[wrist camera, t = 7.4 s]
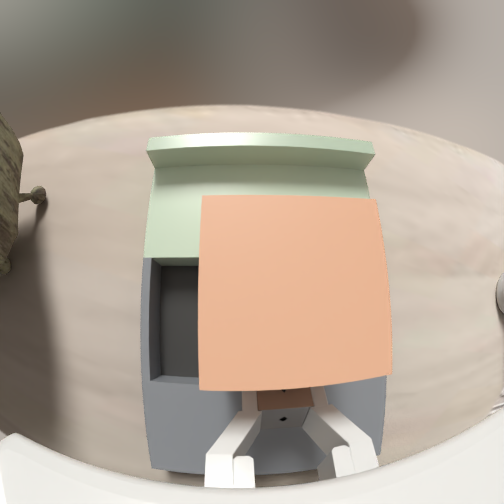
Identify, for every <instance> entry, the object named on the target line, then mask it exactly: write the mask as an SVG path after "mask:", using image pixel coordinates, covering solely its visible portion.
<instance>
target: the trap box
mask: <svg viewBox="0 0 504 504" xmlns="http://www.w3.org/2000/svg"><path fill="white" fill-rule="evenodd" d="M146 151H147V153H148V155H149V157H150V159H151V161H152V164H153V166H154V168H155V170H154V176H153V182H152V188H151V195H150V202H149V210H148V218H147V226H146V235H145V246H144V257H143V271H142V289H141V373H142V390H143V403H144V414H145V424H146V432H147V440H148V447H149V454H150V460H151V466H152V468H154V469H160V470H166V471H174V472H182V473H193V474H205V463H206V453H207V452H208V451H209V450H210V448H211V447H212V446H213V445H214V443H215V442H216V441H217V439H218V438H219V437H220V435H221V434H222V433H223V432H224V430H225V429H226V428H227V426H228V425H229V423H230V422H231V421H232V419H233V418H234V417H235V415H236V414H237V413H238V411H242V391H207V390H199V360H198V276H199V244H200V222H201V204H202V195H300V196H327V197H347V198H363V199H370V196H369V191H368V186H367V182H366V177H365V173H364V169H365V168H366V167H367V165H368V164H369V162H370V161H371V160H372V158H373V157H374V155H375V152H374V149H373V145H372V142H368V141H361V140H353V139H345V138H336V137H326V136H315V135H301V134H283V133H207V134H188V135H175V136H164V137H154V138H149V141H148V145H147V150H146ZM324 389H325V393H326V397H327V401H328V405H330V404H332V405H333V406H334V407H336V408H337V409H338V410H339V411H340V412H341V413H342V414H343V415H345V416H346V417H347V418H348V419H349V420H350V421H351V422H353V423H354V424H355V425H356V426H357V427H358V428H360V429H361V430H362V431H363V432H364V433H365V434H367V435H368V436H369V437H370V438H371V439H372V443H373V446H374V450H375V453H376V456H377V455H380V452H381V444H382V436H383V426H384V415H385V400H386V375H385V376H380V377H375V378H370V379H365V380H359V381H353V382H346V383H340V384H332V385H325V386H324ZM245 456H250V457H251V458H253V461H254V475H267V474H281V473H291V472H299V471H307V470H314V469H317V466H318V465H319V464H320V463H321V462H322V461H323V460H324V459H325V457H326V456H327V455H326V454H325V453H324V452H323V451H322V450H321V449H320V447H319V446H318V445H317V444H316V443H315V442H314V441H313V440H312V438H311V437H310V436H309V435H308V434H307V433H306V432H305V430H304V429H303V428H302V427H290V428H276V429H264V430H260V432H259V433H258V435H257V437H256V438H255V440H254V442H253V443H252V445H251V447H250V448H249V450H248V451H247V453H246V454H245Z"/></svg>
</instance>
